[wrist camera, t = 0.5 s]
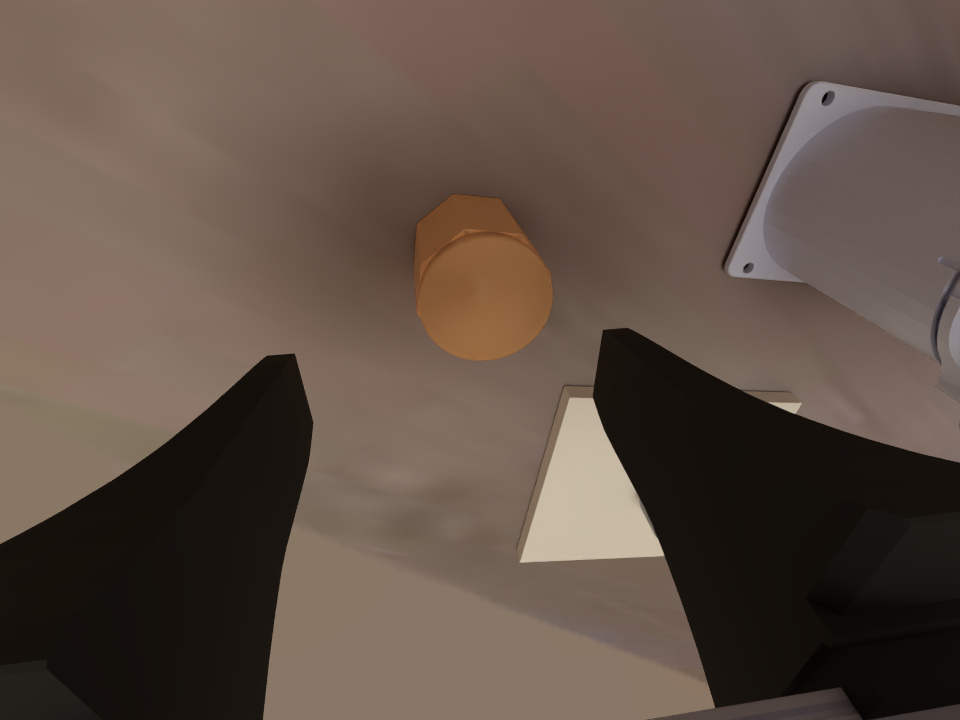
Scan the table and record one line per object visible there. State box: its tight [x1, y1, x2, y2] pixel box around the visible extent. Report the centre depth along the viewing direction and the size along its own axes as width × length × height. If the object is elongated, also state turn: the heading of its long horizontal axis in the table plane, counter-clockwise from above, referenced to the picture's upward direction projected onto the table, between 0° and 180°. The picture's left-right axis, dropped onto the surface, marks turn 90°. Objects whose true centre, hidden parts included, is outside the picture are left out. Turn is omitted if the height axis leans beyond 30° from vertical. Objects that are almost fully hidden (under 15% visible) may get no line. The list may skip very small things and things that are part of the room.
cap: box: [414, 194, 553, 361], centre depth 18 cm, size 5×5×5 cm
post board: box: [517, 386, 802, 562], centre depth 29 cm, size 14×14×5 cm
